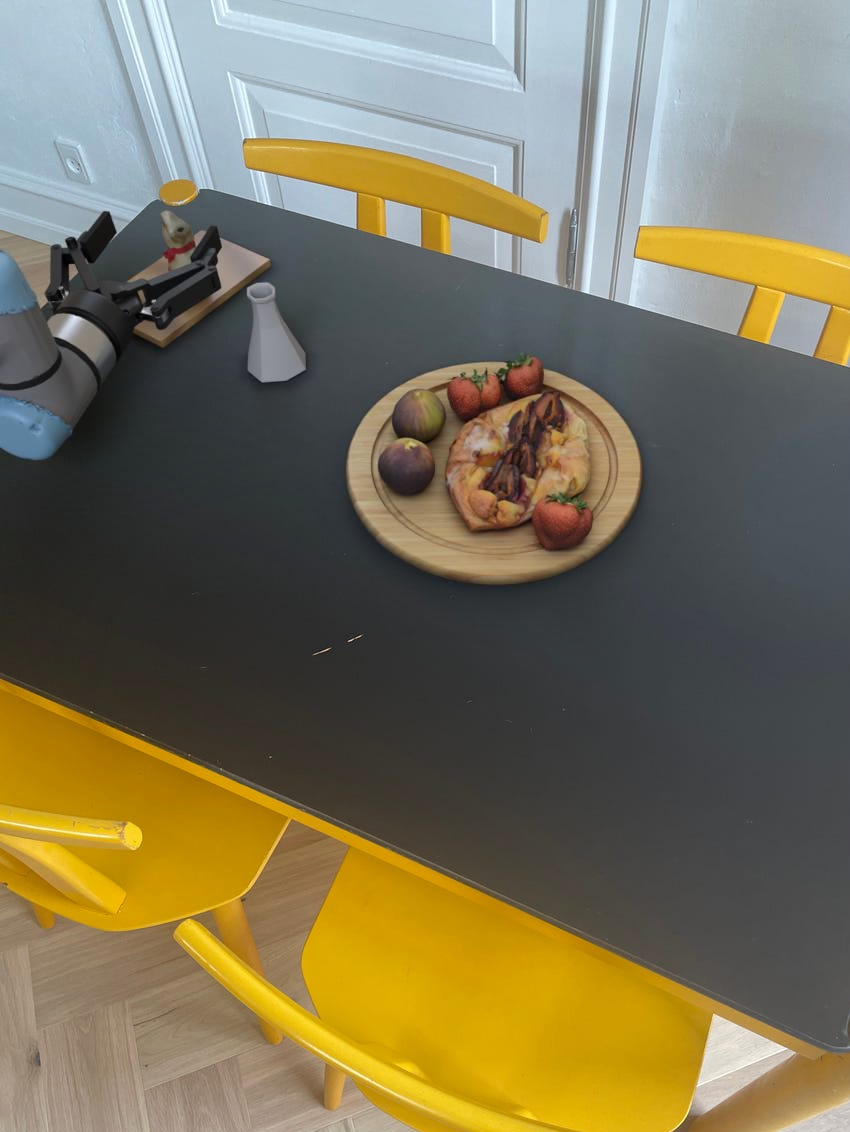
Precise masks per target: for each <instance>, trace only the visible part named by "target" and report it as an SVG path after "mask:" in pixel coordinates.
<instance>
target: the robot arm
mask: <svg viewBox="0 0 850 1132" xmlns="http://www.w3.org/2000/svg"><path fill="white" fill-rule="evenodd" d="M219 233H220V232H219V229H218V226H217V225H213V224H212V225H210V226H209V227H208V229H207V230H206V233H205V235H204V237H203V238H202V240H201V241H200V243H199V244H198V246H197V247H196V249H195V250H194V252H193V253H192V255H191V256H190V260H191V263H190V264H187V265H185V266H182V267H180V268H177V269H175V270H172V271H170V272H167V273H165V274H162V275H160V276H157V277H155V278H152V279H150V280H145V279H143V278H141V279H138V280H136V281H133V282H131V283H130V282H127V281H115V280H113V279H108V278H105V279H104V280H99V281H97V280H96V277H95V275H94V273H93V271H92V270H91V268H90V265H89V264H91V265H92V264H93V265H94V264H95V263H96V261H97V260H98V258H99V257H100V256H101V255H102V253H104V250H106V248H107V247H108V246H109V244H110V243H111V241H112V240H113V239H114V237H115V236H116V235H117V234H118V231H117V228H116V225H115V222H114V220H113V217H112V215H111V212H110V210H109V211H108V210H103V211H102V212H101V213H100V215H99V216H98V217H97V219H96V220H95V221H94V223H92V225H91V226H90V228H89V229H88V230H84V231H82V233H81V234H80V235H79V237H78V238H76V237H74V236H68V237H66V238H65V239H64V242H65V244H66V247H62V245H61V243H60V244H59V243H55V244H51V246H50V248H49V249H50V252H49V253H50V255H49V256H50V258H49V261H50V264H49V284H48V286H47V288H46V289H45V291H44V292H43V293H44V296H45V299H46V301H47V303H48V305H49V308H50V309H51V311H52V313H53V314H52V315H51V316H50V317H49V319H48V320H46V317H45V315H44V313H43V311H42V308H41V306H40V304H39V302H38V298H37V297H38V296H37V295H36V293H35V291H34V290H33V289H32V287H31V285H30V284H29V282H28V279H27V278H26V276H25V274H24V272H23V271H22V270H21V268H20V266H19V264H18V263H17V261H16V260H15V258H14V257H13V255H11V254H10V253H9V252H7V251H5V250H4V249H2V248H0V449H2V450H4V451H5V452H7V453H8V454H10V455H13V456H15V457H18V458H21V459H29V460H32V461H44V460H47V459H50V458H51V457H53V456H54V455H55V454H56V452H57V451H58V450H59V449H60V448H61V446H63V444H64V442H66V440H68V438H69V437H71V436H72V434H73V432H74V429H75V427H76V425H77V424H78V422H79V421H80V419H81V418H82V416H83V415H84V414H85V412H86V410H87V408H88V407H89V405H90V404H91V402H92V401H93V399H94V398H95V396H96V395H97V393H98V391H99V389H100V388H101V387H102V385H103V384H104V382H105V381H106V380H107V378H108V376H109V375H110V373H111V372H112V370H113V369H114V367H115V365H116V363H117V362H118V361H119V360H120V358H121V357H122V356H123V354H124V352H125V351H126V349H127V348H128V346H129V345H130V343H131V341H132V338H133V335H134V333H133V331H134V328H135V326H137V325H138V324H139V323H141V322H143V321H144V320H146V321H150V322H154V323H155V325H156V328H157V329H158V330H164V329H166V328H167V327H168V326H169V324H170V323H171V322H172V321H173V320H174V318H176V317H178V316H179V315H181V314H182V313H184V312H185V311H187V310H189V309H190V308H192V307H193V306H195V305H196V304H198V303H200V302H201V301H203V300H204V299H206V298H207V297H209V296H211V295H212V294H214V293H215V292H217V291H218V290H220V289H221V288H222V286H221V282H220V279H219V275H218V271H217V267H216V265H217V263H218V257H217V255H218V253H219V251H220V250H221V248H222V244H221V241H220V238H221V237H220V234H219ZM70 265H74V267H75V269H76V271H77V273H78V275H79V277H80V279H81V281H82V283H83V286H84V287H83V288H81V289H78V290H74V291H72V292H70ZM140 290H142V291H143V294H144V297H145V300H146V301H145V303H143V304H142V301H141V299H140V296H139V293H138V291H140Z"/></svg>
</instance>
